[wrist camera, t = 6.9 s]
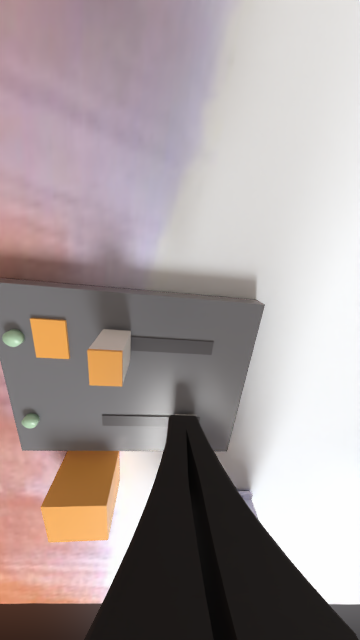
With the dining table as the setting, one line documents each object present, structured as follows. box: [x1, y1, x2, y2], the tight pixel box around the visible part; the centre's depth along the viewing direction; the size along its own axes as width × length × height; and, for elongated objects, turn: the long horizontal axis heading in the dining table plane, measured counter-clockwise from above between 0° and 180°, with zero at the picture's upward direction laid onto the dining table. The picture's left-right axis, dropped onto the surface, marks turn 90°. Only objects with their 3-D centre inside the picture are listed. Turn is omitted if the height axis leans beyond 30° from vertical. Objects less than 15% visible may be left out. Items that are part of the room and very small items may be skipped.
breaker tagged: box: [87, 329, 131, 387], centre depth 14 cm, size 2×2×3 cm
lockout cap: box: [41, 451, 119, 542], centre depth 20 cm, size 5×5×5 cm
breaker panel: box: [0, 278, 265, 451], centre depth 17 cm, size 20×16×2 cm
